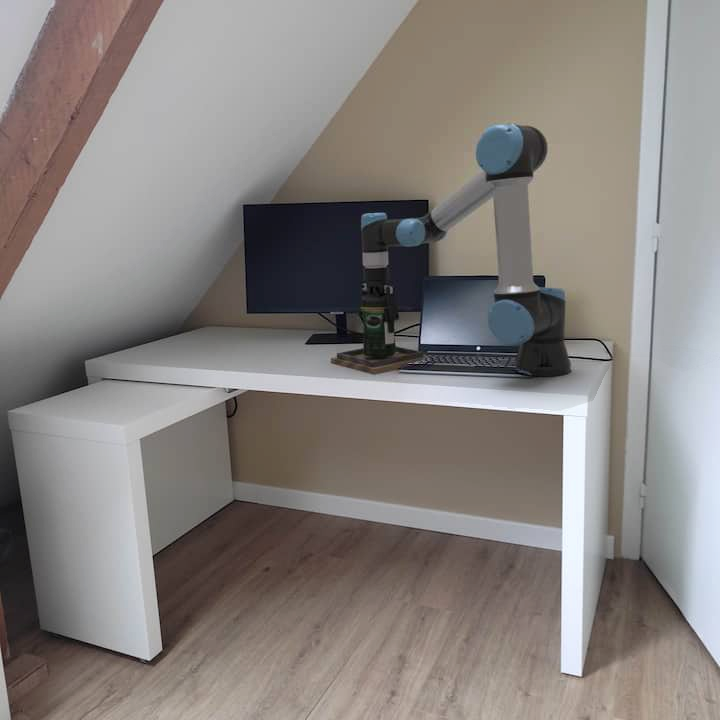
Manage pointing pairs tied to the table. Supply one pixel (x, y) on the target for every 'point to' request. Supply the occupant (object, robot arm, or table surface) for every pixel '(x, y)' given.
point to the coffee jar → (375, 327)
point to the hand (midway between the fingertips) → (379, 341)
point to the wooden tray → (377, 360)
